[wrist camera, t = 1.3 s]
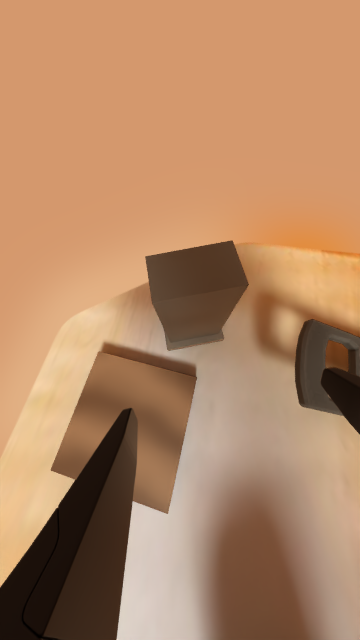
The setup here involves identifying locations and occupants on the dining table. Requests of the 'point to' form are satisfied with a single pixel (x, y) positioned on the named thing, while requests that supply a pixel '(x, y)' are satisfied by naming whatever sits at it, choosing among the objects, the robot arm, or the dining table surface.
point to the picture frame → (195, 292)
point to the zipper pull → (320, 363)
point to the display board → (153, 422)
